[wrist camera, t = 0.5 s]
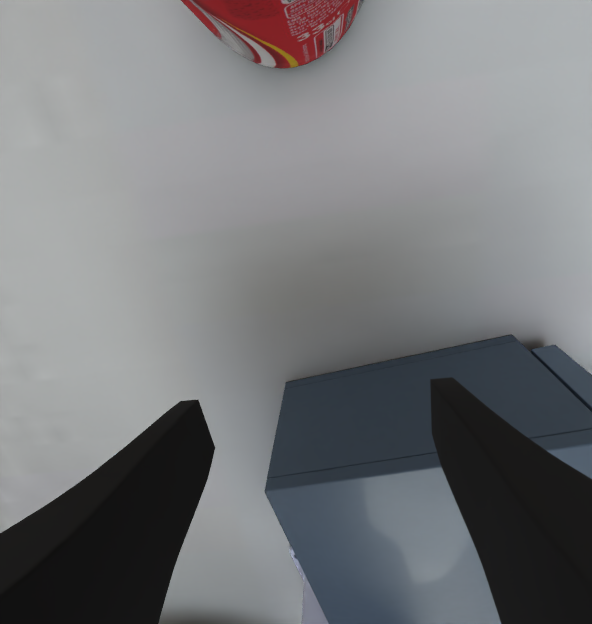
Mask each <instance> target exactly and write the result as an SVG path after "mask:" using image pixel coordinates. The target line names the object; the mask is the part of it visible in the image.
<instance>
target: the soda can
mask: <svg viewBox="0 0 592 624" xmlns="http://www.w3.org/2000/svg"><path fill="white" fill-rule="evenodd" d="M181 1H182V2H183V3H184V4H185V5H186V6H187V7H188V8H189V9H190V10H191V11H192V12H193V13H194V14H195V15H196V16H197V17H198V18H199V19H200V20H201V21H202V22H203V24H204V25H205V26H206V27H207V28H208V29H209V30H210V31H211V32H212V33H213V34H214V35H215V36H216V37H217V38H218V39H220V40H221V41H222V42H223V43H224V44H226V45H227V46H228V47H230V48H231V49H232V50H234V51H235V52H237V53H238V54H240V55H242V56H244V57H245V58H247V59H249V60H251V61H253V62H255V63H257V64H260V65H264V66H267V67H272V68H293V67H297V66H301V65H304V64H307V63H309V62H311V61H313V60H315V59H317V58H319V57H321V56H322V55H323V54H325V53H326V52H328V51H329V50H330V49H331V48H332V47H333V46H334V45H335V44H336V43H337V42H338V41H339V40H340V39H341V38H342V37H343V35H344V34H345V33H346V31H347V30H348V29H349V27H350V26H351V24H352V22H353V20H354V18H355V17H356V15H357V13H358V11H359V9H360V7H361V5H362V3H363V1H364V0H181Z"/></svg>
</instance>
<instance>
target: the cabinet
mask: <svg viewBox="0 0 592 624" xmlns="http://www.w3.org/2000/svg"><path fill="white" fill-rule="evenodd" d="M449 377H453V378H454V379H455V380H456V381H458V382H459V383H460V384H461V385H462V386H464V387H465V388H466V389H467V390H468V391H470V392H471V393H472V394H473V395H474V396H475V397H477V398H478V399H479V400H480V401H481V402H483V403H484V404H485V405H486V406H487V407H489V408H490V409H491V410H492V411H494V412H495V413H496V414H497V415H499V416H500V417H501V418H503V419H504V420H505V421H506V422H508V423H509V424H510V425H512V426H513V427H514V428H515V429H517V430H518V431H519V432H521V433H522V434H523V435H525V436H526V437H528V438H529V439H531V440H532V441H533V442H535V443H536V444H538V445H539V446H541V447H542V448H543V449H545V450H546V451H548V452H549V453H551V454H552V455H554V456H555V457H557V458H558V459H560V460H561V461H563V462H565V463H566V464H568V465H570V466H571V467H573V468H574V469H576V470H578V471H579V472H581V473H583V474H584V475H586V476H588V477H589V478H591V479H592V412H591V411H590V410H589V409H588V408H587V407H586V406H585V405H584V404H583V403H582V402H581V401H579V400H578V399H577V398H576V397H575V396H574V395H573V394H572V393H571V392H570V391H569V390H568V389H567V388H566V387H565V386H564V385H563V384H562V383H561V382H560V381H559V380H558V379H557V378H556V377H555V376H554V375H553V374H552V373H551V372H550V371H549V370H548V369H547V368H546V367H545V366H544V365H543V364H542V363H541V362H540V361H538V360H537V359H536V358H535V357H534V356H533V355H532V354H531V353H530V352H529V351H528V350H527V349H526V348H525V347H524V346H523V345H522V344H521V343H520V342H519V341H518V340H517V339H516V338H515V337H514V336H513V335H508V336H504V337H499V338H494V339H490V340H485V341H480V342H475V343H471V344H466V345H461V346H456V347H452V348H447V349H442V350H437V351H433V352H428V353H423V354H418V355H414V356H409V357H404V358H400V359H395V360H390V361H385V362H381V363H376V364H371V365H366V366H362V367H357V368H352V369H347V370H343V371H338V372H333V373H329V374H324V375H319V376H314V377H310V378H305V379H300V380H295V381H291V382H286V384H285V390H284V394H283V400H282V405H281V410H280V415H279V420H278V425H277V430H276V435H275V440H274V445H273V450H272V455H271V460H270V465H269V471H268V476H267V482H266V487H265V493H266V496H267V498H268V500H269V502H270V504H271V506H272V508H273V510H274V512H275V514H276V516H277V518H278V520H279V522H280V524H281V526H282V528H283V531H284V533H285V535H286V537H287V539H288V541H289V543H290V545H291V547H292V549H293V551H294V553H295V555H296V557H297V559H298V561H299V563H300V566H301V568H302V570H303V572H304V574H305V576H306V578H307V580H308V582H309V584H310V586H311V588H312V590H313V592H314V594H315V596H316V598H317V601H318V603H319V605H320V607H321V609H322V611H323V613H324V615H325V617H326V619H327V621H328V623H329V624H501V621H500V618H499V615H498V612H497V609H496V606H495V603H494V600H493V597H492V594H491V590H490V587H489V584H488V581H487V578H486V575H485V572H484V569H483V566H482V564H481V561H480V558H479V556H478V553H477V551H476V548H475V546H474V543H473V541H472V538H471V536H470V534H469V531H468V529H467V527H466V524H465V522H464V520H463V517H462V515H461V512H460V510H459V508H458V505H457V503H456V501H455V498H454V496H453V494H452V491H451V489H450V486H449V484H448V482H447V479H446V477H445V474H444V472H443V469H442V467H441V464H440V460H439V457H438V454H437V450H436V447H435V443H434V440H433V436H432V426H431V388H430V379H437V378H449Z"/></svg>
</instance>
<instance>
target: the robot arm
mask: <svg viewBox="0 0 592 624" xmlns="http://www.w3.org/2000/svg"><path fill="white" fill-rule="evenodd" d="M430 388H431V426H432V436H433V440H434V443H435V447H436V450H437V454H438V457H439V460H440V464H441V467H442V469H443V472H444V474H445V477H446V479H447V482H448V484H449V486H450V489H451V491H452V494H453V496H454V498H455V501H456V503H457V505H458V508H459V510H460V512H461V515H462V517H463V520H464V522H465V524H466V527H467V529H468V531H469V534H470V536H471V538H472V541H473V543H474V546H475V548H476V551H477V553H478V556H479V558H480V561H481V564H482V566H483V569H484V572H485V575H486V578H487V581H488V584H489V587H490V590H491V594H492V597H493V600H494V603H495V606H496V609H497V612H498V615H499V618H500V621H501V624H592V479H591V478H589V477H588V476H586V475H584V474H583V473H581V472H579V471H578V470H576V469H574V468H573V467H571V466H570V465H568V464H566V463H565V462H563V461H561V460H560V459H558V458H557V457H555V456H554V455H552V454H551V453H549V452H548V451H546V450H545V449H543V448H542V447H541V446H539V445H538V444H536V443H535V442H533V441H532V440H531V439H529V438H528V437H526V436H525V435H523V434H522V433H521V432H519V431H518V430H517V429H515V428H514V427H513V426H512V425H510V424H509V423H508V422H506V421H505V420H504V419H503V418H501V417H500V416H499V415H497V414H496V413H495V412H494V411H492V410H491V409H490V408H489V407H487V406H486V405H485V404H484V403H483V402H481V401H480V400H479V399H478V398H477V397H475V396H474V395H473V394H472V393H471V392H470V391H468V390H467V389H466V388H465V387H464V386H462V385H461V384H460V383H459V382H458V381H456V380H455V379H454V378H453V377H449V378H437V379H430ZM214 450H215V446H214V443H213V441H212V438H211V435H210V432H209V429H208V426H207V423H206V421H205V418H204V415H203V412H202V409H201V406H200V403H199V401H198V400H189V401H180V402H179V403H178V404H176V405H175V406H174V407H172V408H171V409H170V410H169V411H167V412H166V413H165V414H164V415H162V416H161V417H160V418H159V419H158V420H157V421H155V422H154V423H153V424H152V425H151V426H149V427H148V428H147V429H146V430H145V431H144V432H142V433H141V434H140V435H139V436H138V437H136V438H135V439H134V440H133V441H132V442H131V443H129V444H128V445H127V446H126V447H125V448H123V449H122V450H121V451H119V452H118V453H117V454H116V455H114V456H113V457H112V458H111V459H109V460H108V461H107V462H106V463H104V464H103V465H102V466H100V467H99V468H98V469H97V470H95V471H94V472H93V473H92V474H90V475H89V476H87V477H86V478H85V479H83V480H82V481H81V482H79V483H78V484H76V485H75V486H74V487H72V488H71V489H69V490H68V491H66V492H65V493H64V494H62V495H61V496H59V497H58V498H56V499H55V500H53V501H52V502H50V503H49V504H47V505H46V506H44V507H42V508H41V509H39V510H38V511H36V512H34V513H33V514H31V515H30V516H28V517H26V518H25V519H23V520H21V521H20V522H18V523H17V524H15V525H13V526H12V527H10V528H9V529H7V530H5V531H4V532H2V533H0V624H158V623H159V619H160V615H161V611H162V608H163V604H164V601H165V597H166V594H167V590H168V587H169V583H170V580H171V576H172V573H173V569H174V567H175V564H176V561H177V558H178V555H179V552H180V550H181V547H182V544H183V542H184V539H185V537H186V534H187V531H188V529H189V526H190V524H191V521H192V519H193V516H194V513H195V511H196V508H197V506H198V503H199V500H200V498H201V495H202V492H203V490H204V487H205V484H206V482H207V479H208V475H209V471H210V467H211V463H212V459H213V454H214ZM289 553H290V555H291V557H292V559H293V561H294V563H295V565H296V567H297V569H298V571H299V573H300V575H301V577H302V579H303V581H304V591H303V608H302V624H329V623H328V621H327V619H326V617H325V615H324V613H323V611H322V609H321V607H320V605H319V603H318V601H317V598H316V596H315V594H314V592H313V590H312V588H311V586H310V584H309V582H308V580H307V578H306V576H305V574H304V572H303V570H302V568H301V566H300V563H299V561H298V559H297V557H296V555H295V553H294V551H293V549H292V547H291V546H290V548H289Z"/></svg>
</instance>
